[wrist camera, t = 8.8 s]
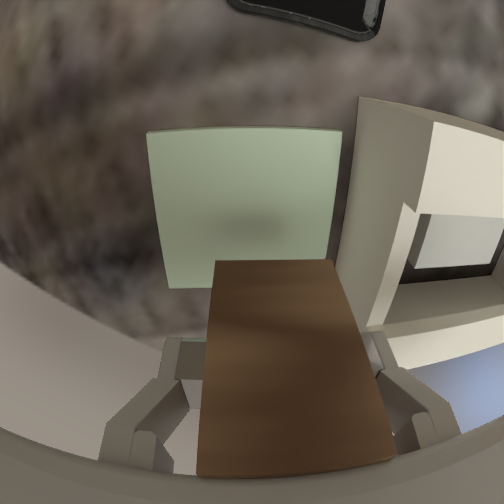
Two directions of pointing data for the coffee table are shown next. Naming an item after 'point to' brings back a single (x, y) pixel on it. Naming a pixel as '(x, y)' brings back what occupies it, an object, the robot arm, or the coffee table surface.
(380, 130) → the slotted box
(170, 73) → the coffee table surface
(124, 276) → the coffee table surface
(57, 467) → the robot arm
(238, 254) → the sage mat
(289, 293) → the walnut block
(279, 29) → the coffee table surface
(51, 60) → the coffee table surface
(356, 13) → the phone
